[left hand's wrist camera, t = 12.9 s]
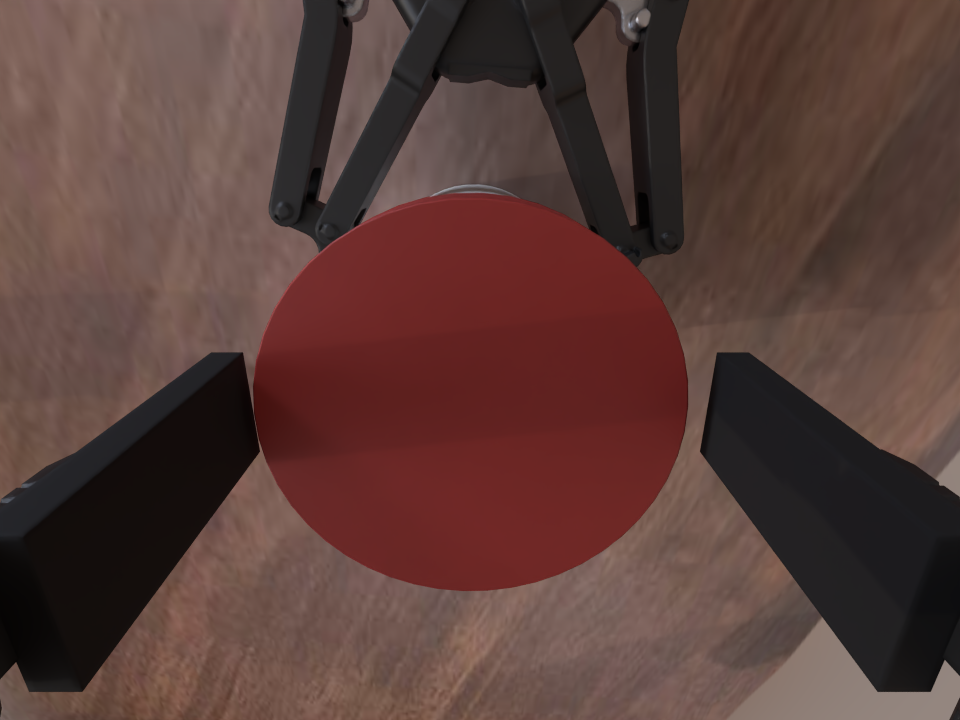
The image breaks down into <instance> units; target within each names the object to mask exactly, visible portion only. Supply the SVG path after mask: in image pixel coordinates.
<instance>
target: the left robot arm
mask: <svg viewBox="0 0 960 720" xmlns="http://www.w3.org/2000/svg"><path fill="white" fill-rule="evenodd" d="M259 452H260V449H259V443H258V437H257V431H256V426H255V420H254V414H253V408H252V402H251V397H250V391H249V385H248V379H247V373H246V368H245V362H244V356H243V353H210V354H209V355H207V356H206V357H205V358H203V359H202V360H201V361H199V362H198V363H196V364H195V365H194V366H192V367H191V368H190V369H188V370H187V371H186V372H184V373H183V374H182V375H180V376H179V377H178V378H176V379H175V380H173V381H172V382H171V383H169V384H168V385H167V386H165V387H164V388H163V389H161V390H160V391H159V392H157V393H156V394H155V395H153V396H152V397H150V398H149V399H148V400H146V401H145V402H144V403H142V404H141V405H140V406H138V407H137V408H136V409H134V410H133V411H131V412H130V413H129V414H127V415H126V416H125V417H123V418H122V419H121V420H119V421H118V422H117V423H115V424H114V425H113V426H111V427H110V428H108V429H107V430H106V431H104V432H103V433H102V434H100V435H99V436H98V437H96V438H95V439H94V440H92V441H91V442H90V443H88V444H87V445H85V446H84V447H83V448H81V449H80V450H79V451H77V452H76V453H74V454H72V455H70V456H68V457H65V458H63V459H61V460H59V461H57V462H55V463H53V464H51V465H49V466H46V467H45V468H44V469H42V470H41V471H40V472H38V473H37V474H35V475H34V476H33V477H31V478H30V479H28V480H27V481H26V482H24V483H23V484H22V487H21V488H16V489H15V490H13V491H12V492H10V493H9V494H8V495H6V496H5V497H3V498H2V499H1V503H0V679H1V678H2V677H3V676H4V674H5V673H6V672H7V671H8V670H9V669H10V668H11V667H12V666H13V665H14V664H15V662H17V665H18V667H19V669H20V672H21V674H22V676H23V678H24V681H25V683H26V685H27V688H28V690H29V692H83V690H84V689H85V687H86V686H87V685H88V683H89V682H90V681H91V679H92V678H93V677H94V675H95V674H96V673H97V671H98V670H99V669H100V667H101V666H102V664H103V663H104V662H105V660H106V659H107V658H108V656H109V655H110V654H111V652H112V651H113V650H114V648H115V647H116V646H117V644H118V643H119V642H120V640H121V639H122V637H123V636H124V635H125V633H126V632H127V631H128V629H129V628H130V627H131V625H132V624H133V623H134V621H135V620H136V619H137V617H138V616H139V614H140V613H141V612H142V610H143V609H144V608H145V606H146V605H147V604H148V602H149V601H150V600H151V598H152V597H153V596H154V594H155V593H156V591H157V590H158V589H159V587H160V586H161V585H162V583H163V582H164V581H165V579H166V578H167V577H168V575H169V574H170V573H171V571H172V570H173V568H174V567H175V566H176V564H177V563H178V562H179V560H180V559H181V558H182V556H183V555H184V554H185V552H186V551H187V550H188V548H189V547H190V546H191V544H192V543H193V541H194V540H195V539H196V537H197V536H198V535H199V533H200V532H201V531H202V529H203V528H204V527H205V525H206V524H207V523H208V521H209V520H210V518H211V517H212V516H213V514H214V513H215V512H216V510H217V509H218V508H219V506H220V505H221V504H222V502H223V501H224V500H225V498H226V497H227V495H228V494H229V493H230V491H231V490H232V489H233V487H234V486H235V485H236V483H237V482H238V481H239V479H240V478H241V477H242V475H243V474H244V472H245V471H246V470H247V468H248V467H249V466H250V464H251V463H252V462H253V460H254V459H255V458H256V456H257V455H258V454H259ZM700 452H701V454H702V455H703V456H704V458H705V459H706V460H707V462H708V463H709V464H710V466H711V467H712V468H713V470H714V471H715V472H716V474H717V475H718V477H719V478H720V479H721V481H722V482H723V483H724V485H725V486H726V487H727V489H728V490H729V491H730V493H731V494H732V495H733V497H734V498H735V500H736V501H737V502H738V504H739V505H740V506H741V508H742V509H743V510H744V512H745V513H746V514H747V516H748V517H749V518H750V520H751V521H752V523H753V524H754V525H755V527H756V528H757V529H758V531H759V532H760V533H761V535H762V536H763V537H764V539H765V540H766V541H767V543H768V544H769V546H770V547H771V548H772V550H773V551H774V552H775V554H776V555H777V556H778V558H779V559H780V560H781V562H782V563H783V564H784V566H785V567H786V568H787V570H788V571H789V573H790V574H791V575H792V577H793V578H794V579H795V581H796V582H797V583H798V585H799V586H800V587H801V589H802V590H803V591H804V593H805V594H806V596H807V597H808V598H809V600H810V601H811V602H812V604H813V605H814V606H815V608H816V609H817V610H818V612H819V613H820V614H821V616H822V617H823V619H824V620H825V621H826V623H827V624H828V625H829V627H830V628H831V629H832V631H833V632H834V633H835V635H836V636H837V637H838V639H839V640H840V642H841V643H842V644H843V645H844V647H845V648H846V650H847V651H848V652H849V654H850V655H851V656H852V658H853V659H854V660H855V662H856V663H857V664H858V666H859V667H860V669H861V670H862V671H863V673H864V674H865V675H866V677H867V678H868V679H869V681H870V682H871V683H872V685H873V686H874V687H875V689H876V690H877V692H931V690H932V688H933V685H934V683H935V681H936V678H937V676H938V674H939V672H940V669H941V667H942V665H943V662H944V660H946V661H947V663H948V664H949V665H950V666H951V667H952V668H953V669H954V670H955V671H956V672H957V673H958V675H959V676H960V497H959V496H958V495H956V494H955V493H953V492H952V491H951V490H949V489H948V488H946V487H945V486H940V485H939V482H938V481H937V480H935V479H934V478H932V477H931V476H930V475H928V474H927V473H925V472H924V471H923V470H921V469H920V468H918V467H917V466H916V465H914V464H912V463H910V462H908V461H906V460H904V459H901V458H899V457H897V456H895V455H893V454H891V453H889V452H886V451H884V450H880V449H879V448H877V447H876V446H875V445H873V444H872V443H870V442H869V441H868V440H866V439H865V438H864V437H862V436H861V435H860V434H858V433H857V432H856V431H854V430H853V429H852V428H850V427H849V426H847V425H846V424H845V423H843V422H842V421H841V420H839V419H838V418H837V417H835V416H834V415H833V414H831V413H830V412H829V411H827V410H826V409H824V408H823V407H822V406H820V405H819V404H818V403H816V402H815V401H814V400H812V399H811V398H810V397H808V396H807V395H805V394H804V393H803V392H801V391H800V390H799V389H797V388H796V387H795V386H793V385H792V384H791V383H789V382H788V381H787V380H785V379H784V378H782V377H781V376H780V375H778V374H777V373H776V372H774V371H773V370H772V369H770V368H769V367H768V366H766V365H765V364H764V363H762V362H761V361H759V360H758V359H757V358H755V357H754V356H753V355H751V354H750V353H717V356H716V362H715V368H714V373H713V379H712V385H711V391H710V397H709V402H708V408H707V414H706V420H705V426H704V431H703V437H702V443H701V449H700ZM1 709H2V707H1V701H0V715H1ZM950 720H960V698H959V700H958V703H957V705H956V707H955V709H954V711H953V713H952V715H951V718H950Z"/></svg>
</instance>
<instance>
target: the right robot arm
mask: <svg viewBox="0 0 960 720" xmlns="http://www.w3.org/2000/svg"><path fill="white" fill-rule="evenodd" d="M393 2H394V3H395V5H396V7H397V9H398V10H399V12H400V14H401V16H402V17H403V19H404V21H405V23H406V24H407V26H408V28H409V30H410V31H411V32H410V34H409V35H408V37H407V39H406V41H405V43H404V45H403V47H402V49H401V51H400V53H399V55H398V57H397V59H396V61H395V64H394V66H393V69H392V73H391V77H390V79H389V81H388V83H387V85H386V87H385V89H384V91H383V93H382V95H381V97H380V99H379V101H378V103H377V105H376V107H375V109H374V111H373V113H372V115H371V117H370V119H369V121H368V123H367V125H366V127H365V129H364V131H363V133H362V135H361V137H360V138H359V140H358V142H357V144H356V146H355V148H354V150H353V152H352V154H351V156H350V158H349V160H348V162H347V164H346V166H345V168H344V170H343V172H342V174H341V176H340V178H339V180H338V182H337V184H336V186H335V188H334V190H333V192H332V194H331V196H330V198H329V200H328V202H327V204H325V203H322V202H320V201H318V199H319V194H320V189H321V185H322V180H323V176H324V171H325V166H326V162H327V157H328V153H329V148H330V143H331V139H332V134H333V129H334V125H335V120H336V116H337V111H338V106H339V102H340V97H341V93H342V88H343V83H344V79H345V74H346V69H347V65H348V60H349V56H350V50H351V44H352V29H353V28H352V22H358V21H360V20H362V19H363V18H364V17H365V16H366V13H367V11H368V5H369V0H303V6H304V14H305V15H304V20H303V25H302V31H301V36H300V42H299V47H298V52H297V58H296V63H295V68H294V74H293V79H292V85H291V90H290V95H289V101H288V106H287V111H286V117H285V122H284V128H283V133H282V138H281V144H280V149H279V154H278V160H277V165H276V171H275V176H274V181H273V187H272V192H271V197H270V203H269V214H270V216H271V219H272V220H273V221H274V222H275V223H276V224H278V225H280V226H285V227H288V226H289V227H292V228H294V229H296V230H299V231H301V232H303V233H306V234H307V235H309V236H310V237H312V238H313V239H314V241H315V242H316V244H317V246H318V249H319V253H320V252H321V251H322V250H324V249H325V248H326V247H327V246H328V245H329V244H330V243H332V242H333V241H335V240H336V239H338V238H339V237H341V236H342V235H344V234H346V233H347V232H349V231H350V230H352V229H353V228H355V227H357V226H358V225H360V223H361V222H362V220H363V218H364V216H365V214H366V212H367V210H368V208H369V207H370V205H371V203H372V201H373V199H374V197H375V195H376V194H377V192H378V190H379V188H380V186H381V184H382V182H383V180H384V179H385V177H386V175H387V173H388V171H389V169H390V167H391V165H392V164H393V162H394V160H395V158H396V156H397V154H398V152H399V151H400V149H401V147H402V145H403V143H404V141H405V139H406V137H407V136H408V134H409V132H410V130H411V128H412V126H413V124H414V122H415V121H416V119H417V117H418V115H419V113H420V111H421V109H422V108H423V106H424V104H425V102H426V101H427V100H428V99H429V97H430V95H431V94H432V92H433V90H434V88H435V86H436V85H437V83H438V81H439V79H440V77H441V75H442V76H444V77H446V78H448V79H449V80H450V82H459V83H473V82H477V81H482V80H487V79H489V80H492V81H495V82H497V83H500V84H502V85H505V86H507V87H519V88H527V86H528V85H532V84H536V87H537V90H538V93H539V95H540V98H541V101H542V103H543V106H544V108H545V109H546V111H547V113H548V115H549V118H550V121H551V124H552V126H553V129H554V132H555V135H556V138H557V140H558V143H559V146H560V149H561V152H562V154H563V157H564V160H565V163H566V165H567V168H568V171H569V174H570V177H571V179H572V182H573V185H574V188H575V191H576V193H577V196H578V199H579V202H580V204H581V207H582V210H583V213H584V216H585V218H586V221H587V224H588V227H589V230H591V231H592V232H594V233H596V234H597V235H599V236H600V237H602V238H604V239H605V240H606V241H607V242H609V243H610V244H611V245H612V246H614V247H615V248H616V249H617V250H619V251H620V252H621V253H622V254H623V255H625V256H626V257H627V258H628V259H629V260H630V261H631V262H632V263H633V264H634V265H635V266H636V267H637V266H638V265H639V264H640V263H641V261H642V259H644V258H648V257H651V256H655V255H658V254H662V253H663V254H672V253H675V252H676V251H677V250H679V249H680V247H681V246H682V244H683V240H684V226H683V201H682V175H681V150H680V125H679V99H678V74H677V49H676V47H677V43H678V39H679V35H680V32H681V28H682V24H683V20H684V17H685V13H686V9H687V5H688V2H689V0H393ZM602 7H603V8H606V9H608V10H609V11H610V12H612V14H613V15H614V17H615V21H616V35H617V38H618V40H619V41H620V42H621V43H622V44H623V45H626V46H628V52H627V63H626V77H627V92H628V106H629V121H630V135H631V149H632V164H633V178H634V192H635V206H636V221H637V225H633V226H630V224H629V221H628V218H627V215H626V212H625V209H624V206H623V203H622V200H621V197H620V194H619V191H618V188H617V185H616V182H615V179H614V176H613V173H612V170H611V167H610V164H609V161H608V158H607V155H606V152H605V149H604V146H603V143H602V140H601V137H600V134H599V131H598V128H597V125H596V121H595V118H594V115H593V112H592V109H591V106H590V103H589V100H588V97H587V93H586V84H585V79H584V75H583V72H582V69H581V66H580V63H579V60H578V57H577V54H576V51H575V48H574V45H573V44H574V42H575V41H576V40H577V39H578V37H579V36H580V35H581V34H582V32H583V31H584V30H585V29H586V27H587V26H588V25H589V23H590V22H591V21H592V20H593V18H594V17H595V16H596V15H597V13H598V12H599V11H600V9H601V8H602Z"/></svg>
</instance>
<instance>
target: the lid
mask: <svg viewBox="0 0 960 720" xmlns="http://www.w3.org/2000/svg"><path fill="white" fill-rule="evenodd" d="M253 396H254V415H255V421H256V427H257V432H258V438H259V441H260V444H261V447H262V450H263V453H264V456H265V459H266V462H267V464H268V466H269V468H270V470H271V472H272V474H273V476H274V479H275V481H276V483H277V485H278V486H279V488H280V489H281V491H282V492H283V494H284V495H285V497H286V498H287V500H288V501H289V503H290V504H291V506H292V507H293V508H294V509H295V510H296V512H297V513H298V514H299V515H300V516H301V517H302V518H303V520H304V521H305V522H306V523H307V524H308V525H309V526H310V527H311V528H312V529H313V530H314V531H315V532H317V533H318V534H319V535H320V536H321V537H322V538H323V539H324V540H325V541H327V542H328V543H329V544H331V545H332V546H334V547H335V548H336V549H338V550H339V551H341V552H342V553H343V554H345V555H346V556H348V557H350V558H352V559H353V560H355V561H357V562H359V563H361V564H362V565H364V566H366V567H368V568H370V569H372V570H375V571H377V572H380V573H382V574H384V575H387V576H389V577H392V578H395V579H398V580H402V581H405V582H408V583H412V584H416V585H421V586H426V587H431V588H437V589H446V590H458V591H488V590H496V589H504V588H512V587H517V586H521V585H526V584H530V583H535V582H538V581H541V580H544V579H547V578H550V577H553V576H556V575H559V574H561V573H563V572H565V571H567V570H569V569H572V568H574V567H576V566H578V565H580V564H582V563H584V562H585V561H587V560H589V559H590V558H592V557H594V556H595V555H597V554H599V553H600V552H602V551H603V550H605V549H606V548H607V547H609V546H610V545H611V544H612V543H614V542H615V541H616V540H618V539H619V538H620V537H622V536H623V535H624V534H625V533H626V532H627V531H628V530H629V529H630V528H631V527H632V526H633V525H634V524H635V523H636V522H637V521H638V520H639V519H640V518H641V516H642V515H643V514H644V513H645V511H646V510H647V509H648V508H649V506H650V505H651V504H652V503H653V501H654V500H655V499H656V497H657V495H658V494H659V492H660V490H661V489H662V487H663V485H664V484H665V482H666V481H667V479H668V477H669V474H670V472H671V470H672V468H673V465H674V463H675V461H676V459H677V456H678V453H679V449H680V446H681V442H682V439H683V435H684V432H685V425H686V418H687V410H688V378H687V371H686V365H685V358H684V353H683V350H682V347H681V343H680V340H679V337H678V334H677V330H676V328H675V326H674V323H673V321H672V319H671V317H670V315H669V313H668V311H667V309H666V307H665V305H664V303H663V301H662V300H661V299H660V297H659V296H658V294H657V293H656V291H655V290H654V288H653V287H652V285H651V284H650V282H649V281H648V279H647V278H646V277H645V276H644V275H643V274H642V273H641V272H640V271H639V270H638V269H637V268H636V266H635V265H634V264H633V263H632V262H631V261H630V260H629V259H628V258H627V257H626V256H625V255H623V254H622V253H621V252H620V251H619V250H617V249H616V248H615V247H614V246H612V245H611V244H610V243H609V242H607V241H606V240H605V239H604V238H602V237H600V236H599V235H597V234H596V233H594V232H592V231H591V230H589V229H588V228H586V227H584V226H583V225H581V224H579V223H577V222H576V221H574V220H572V219H571V218H569V217H567V216H566V215H564V214H562V213H559V212H557V211H555V210H552V209H550V208H548V207H545V206H543V205H541V204H538V203H534V202H531V201H527V200H523V199H519V198H516V197H512V196H505V195H497V194H489V193H451V194H444V195H438V196H431V197H425V198H422V199H418V200H415V201H412V202H408V203H405V204H402V205H398V206H396V207H394V208H392V209H390V210H387V211H385V212H383V213H381V214H379V215H376V216H374V217H372V218H370V219H369V220H367V221H365V222H363V223H362V224H360V225H358V226H357V227H355V228H353V229H352V230H350V231H349V232H347V233H346V234H344V235H342V236H341V237H339V238H338V239H336V240H335V241H333V242H332V243H330V244H329V245H328V246H327V247H326V248H325V249H324V250H322V251H321V252H320V253H319V254H318V255H317V256H315V257H314V258H313V259H312V260H311V261H310V262H309V263H308V264H307V265H306V266H305V267H304V268H303V270H302V271H301V272H300V273H299V274H298V275H297V277H296V278H295V279H294V280H293V281H292V282H291V283H290V285H289V286H288V288H287V289H286V291H285V293H284V294H283V296H282V297H281V299H280V301H279V302H278V304H277V305H276V307H275V308H274V311H273V313H272V315H271V318H270V320H269V322H268V324H267V327H266V329H265V331H264V334H263V337H262V341H261V344H260V348H259V352H258V355H257V359H256V366H255V375H254V384H253Z"/></svg>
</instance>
